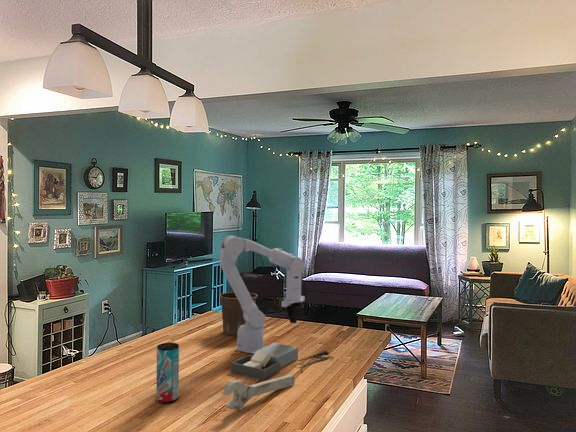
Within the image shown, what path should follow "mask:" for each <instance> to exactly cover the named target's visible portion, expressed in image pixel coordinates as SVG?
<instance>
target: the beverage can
mask: <svg viewBox="0 0 576 432" xmlns="http://www.w3.org/2000/svg"><path fill="white" fill-rule="evenodd" d="M179 366H180V345H179V344H178V343H177V342H176V343H175V342H163V343H160V344H158V345H156V386H155V387H156V388H155V389H156V395H155V399H156V401H157V402H158V403H161V404H172V403H174V402H176V401H177V400H178V399H179V380H180V379H179V375H180V373H179V370H180V369H179V368H180V367H179Z"/></svg>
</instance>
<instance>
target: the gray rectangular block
mask: <svg viewBox="0 0 576 432" xmlns="http://www.w3.org/2000/svg"><path fill="white" fill-rule="evenodd" d="M263 347H264V348H261V349H259V350H260V351H266V352H269V354H270V357H271V358H270V360H273V361H278V362H280V369H281V368H283V367H285V366H287V365H289V364H290V363H293V362H294V361H297V360H299V359H298V358H299V347H298V346H292V345H288V344H283V343H279V342H278V343H276V342H272V343H271V344H268V345H266V346H263ZM256 352H257V351H255V352H252V353H251V354H252V355H251V356H254V354H255V353H256Z"/></svg>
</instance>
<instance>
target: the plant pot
mask: <svg viewBox="0 0 576 432" xmlns="http://www.w3.org/2000/svg"><path fill="white" fill-rule="evenodd" d="M249 294H250V296H251V298H252V300H253V301H254V303H255V304H256V303H257V298H258V297H259V296H258V294H257V293H254V292H249ZM218 296H219V299H220V306H221V318H222V332H223V334H225V335H229V336H234V337H235V336H236V337H237V332H238V329H239V327H240V326H241V325H245V322H246V321H245V320H244V318H243V310H242V308H241V304H240V303H239V301H238V299H237V297H236V295H235V293H234V291H227V292H222V293H220V294H219V295H218ZM256 305H257V304H256Z"/></svg>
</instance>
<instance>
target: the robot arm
mask: <svg viewBox="0 0 576 432" xmlns="http://www.w3.org/2000/svg"><path fill="white" fill-rule="evenodd" d="M249 251H251V252H254V253H256V254H259V255H262V256H264V257H267V258H268V260H269V262H270V263H272V264H274V265H277V266H278V267H282V268H283V269H286V284H285V285H286V287H285V291H286V292H285V298H284V300H282V301H281V308H285V310H286V312H287V315H288V319H289V324H290V323H291V324H296V323H297V321H298V317H299V313H300V311H301V309H302V307H303V304H302V302H303V303H304V302H305V299H306V297H305V295H302V270H304V268H305V264H304V261H303V259H302V258H300V257H298V256H296V255H294V254H293V253H292V252H289V253H288V252H286V251H285V250H283V248H281V247H275V248H274V247H273V248H272V249H271V248H268V247H267V246H264V245H262V244H260V243H258V242H255V241H253V240H251V239H247V238H243V237H239V236H235V235H232V234H231V235H227V236H225V237H224V239H223V240H222V242H221V243H220V256H219V265H220V268H221V269H222V272H223V273H224V275H225V277H226V279H227V281H228V283H229V285H230V287H231V289H232V290H233V291H232V292H234V293H235V295H236V297H237V299H238V301H239V303H240V304H241V308H242V310H243V318H244V320H245V321H246V322H245V325H241V326H240V327H239V329H238V332H237V336H236V337H237V339H236V341H237V342H236V348H235V350H236V351H240V352H243V353H248V354H252V352H255V351H257V350H259V349H261V348H264V347H265V346H264V327H265V323H266V315H265V314H264V313H263V312H262V311H261V310H260V309H259V307H258V306H257V304H255V303H254V301H253V300H252V298H251V296H250V294H249V293H250V291H249V290H248V288H247V286H246V284H245V282H244V281H243V278H242V276H241V275H240V272H239V270H238V269H237V266H236V262H237V259H238V257H239V256H240V254H241V253H242V252H249Z"/></svg>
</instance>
